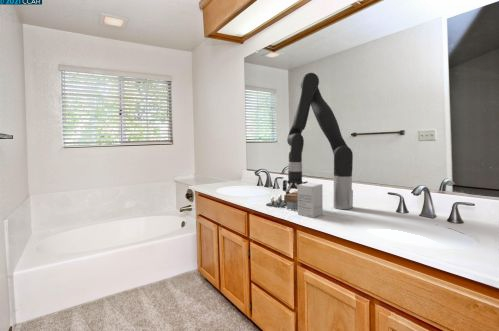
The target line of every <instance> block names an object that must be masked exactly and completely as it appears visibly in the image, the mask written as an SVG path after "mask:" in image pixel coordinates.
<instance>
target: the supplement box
mask: <svg viewBox="0 0 499 331" xmlns="http://www.w3.org/2000/svg"><path fill="white" fill-rule="evenodd" d="M297 191H298V208H297V215H298V214H299V215H298V216H303V217H308V218H315V217H318V216H321V215H323V214H324V213H323V210H324V209H323V199H324V198H323V184H322V183H313V182H308V183H305V184H300V185H298V189H297Z"/></svg>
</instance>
